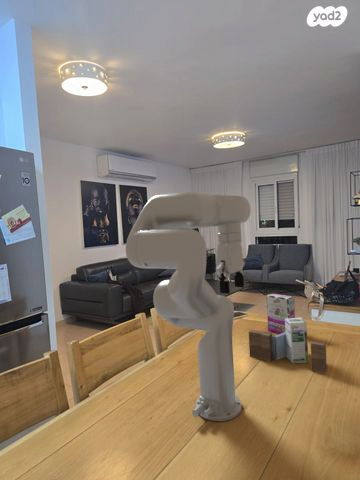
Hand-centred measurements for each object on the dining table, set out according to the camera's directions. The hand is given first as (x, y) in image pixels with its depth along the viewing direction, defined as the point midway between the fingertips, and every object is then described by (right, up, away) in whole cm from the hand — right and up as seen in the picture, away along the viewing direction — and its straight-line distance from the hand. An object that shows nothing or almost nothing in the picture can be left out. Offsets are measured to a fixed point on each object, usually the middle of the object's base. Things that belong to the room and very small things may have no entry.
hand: (232, 289), depth 104 cm
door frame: (+20, -27, +6) cm, 33 cm away
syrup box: (+24, -26, +8) cm, 37 cm away
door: (+22, -25, +11) cm, 35 cm away
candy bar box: (+27, -24, +34) cm, 50 cm away
